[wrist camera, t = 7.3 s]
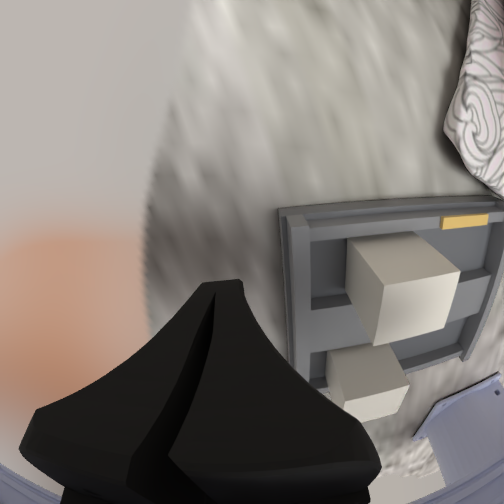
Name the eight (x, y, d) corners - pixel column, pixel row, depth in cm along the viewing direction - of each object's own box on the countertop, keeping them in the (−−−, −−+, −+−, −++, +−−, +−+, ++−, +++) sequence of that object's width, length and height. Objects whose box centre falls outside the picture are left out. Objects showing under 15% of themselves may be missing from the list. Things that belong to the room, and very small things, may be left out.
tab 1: (411, 230, 10) (460, 271, 7) (405, 279, 11) (443, 328, 8) (347, 237, 10) (384, 285, 7) (344, 289, 11) (372, 346, 8)
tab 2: (383, 333, 13) (410, 384, 10) (376, 364, 14) (396, 413, 11) (327, 344, 13) (345, 401, 10) (324, 374, 14) (338, 427, 11)
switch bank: (492, 195, 11) (519, 209, 9) (455, 337, 15) (470, 358, 13) (277, 208, 11) (284, 228, 9) (288, 376, 15) (293, 405, 13)
